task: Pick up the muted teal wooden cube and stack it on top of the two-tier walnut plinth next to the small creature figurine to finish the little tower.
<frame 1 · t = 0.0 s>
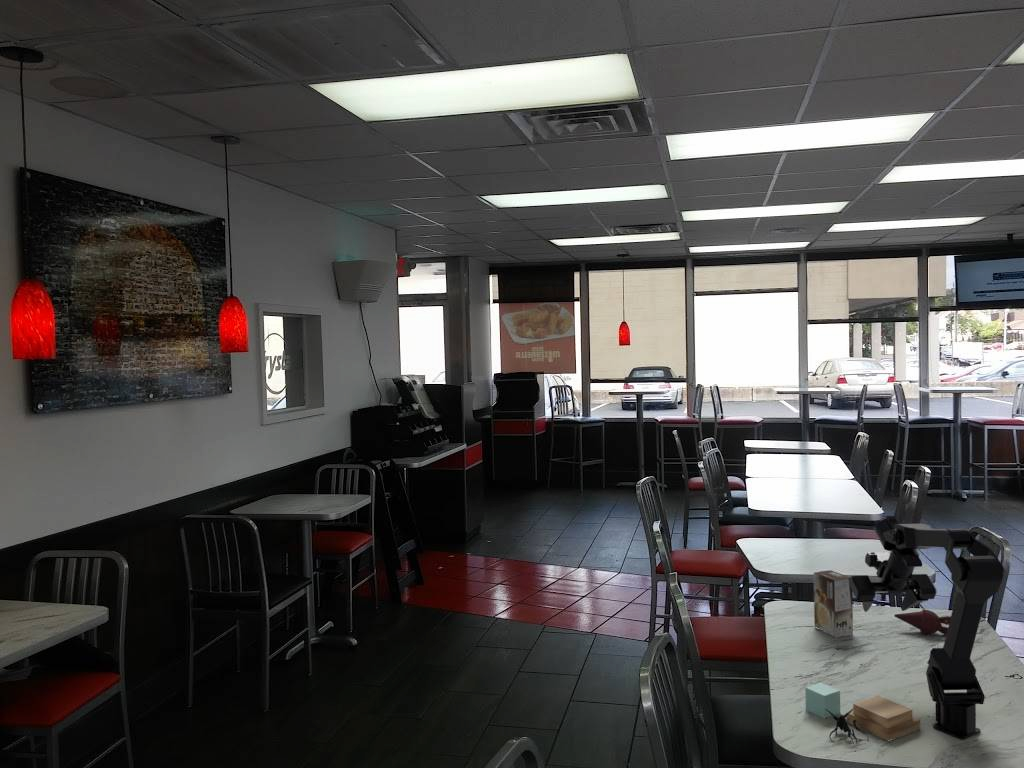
hand: (883, 609, 192), 15 cm above the table, tool tilted 35°, fingers open, 9 cm apart
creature: (847, 739, 159), on the table
teal block: (822, 711, 171), on the table
plinth: (882, 725, 164), on the table
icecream: (924, 633, 217), on the table
coffee box: (833, 632, 220), on the table
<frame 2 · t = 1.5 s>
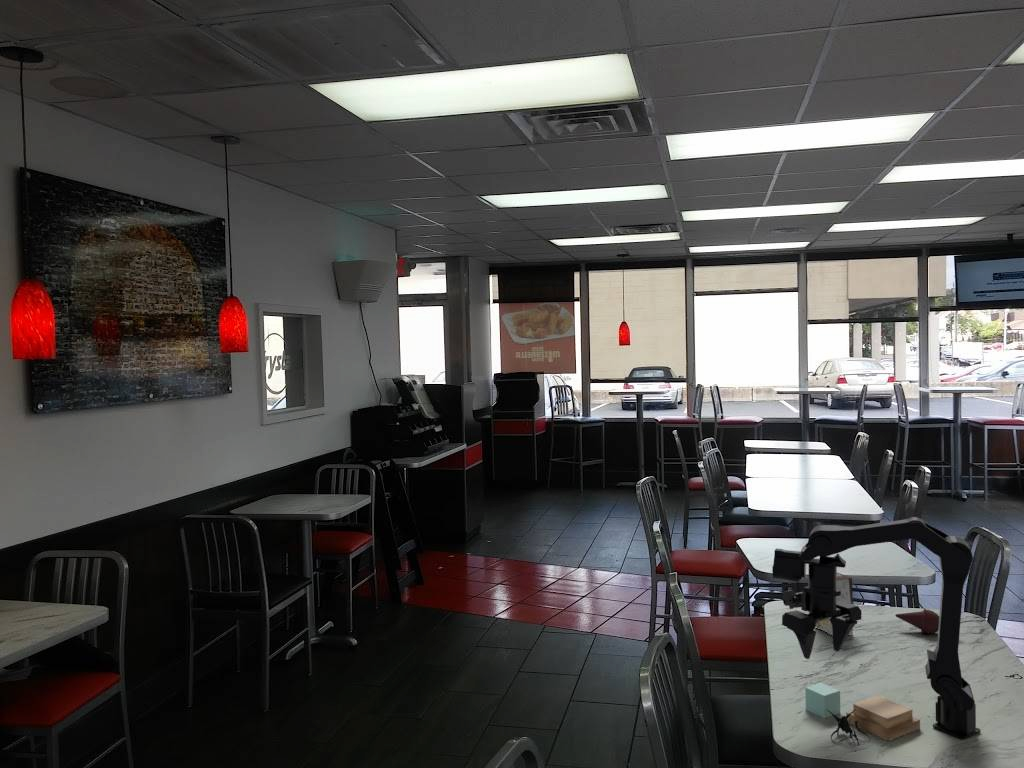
hand: (821, 654, 172), 12 cm above the table, tool pointing down, fingers open, 9 cm apart
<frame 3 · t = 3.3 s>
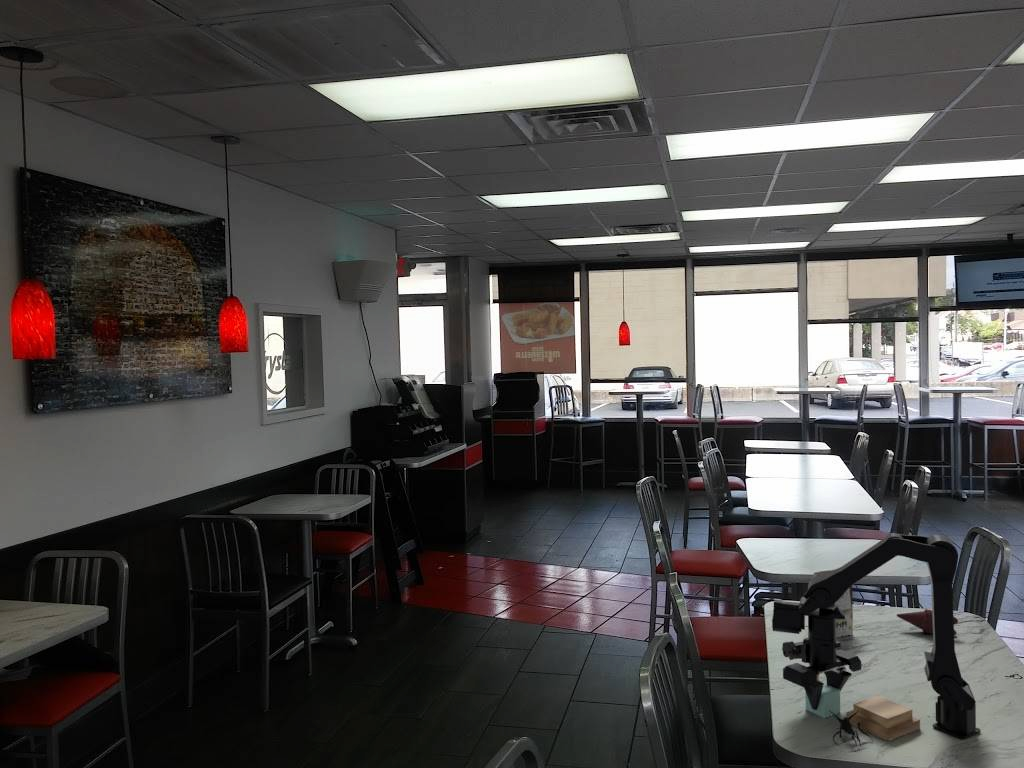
hand: (822, 706, 171), 1 cm above the table, tool pointing down, fingers closed on teal block, 5 cm apart
teal block: (822, 711, 171), on the table, touching gripper
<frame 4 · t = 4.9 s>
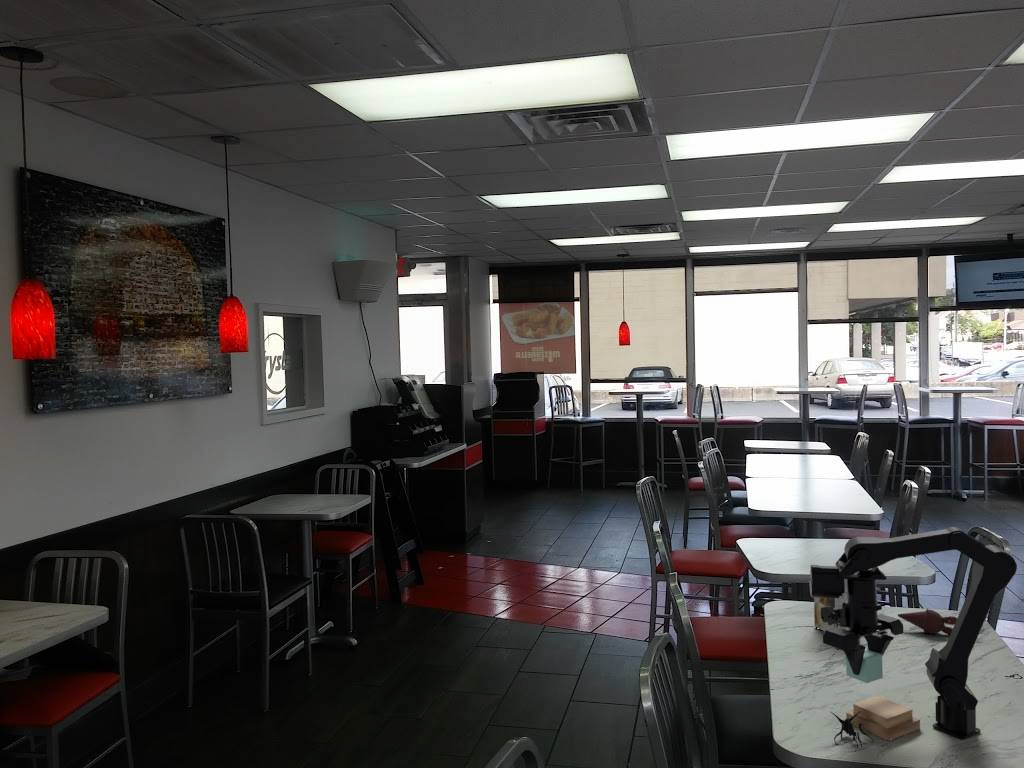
hand: (864, 671, 166), 11 cm above the table, tool pointing down, fingers closed on teal block, 5 cm apart
teal block: (864, 676, 166), point 10 cm above the table, touching gripper
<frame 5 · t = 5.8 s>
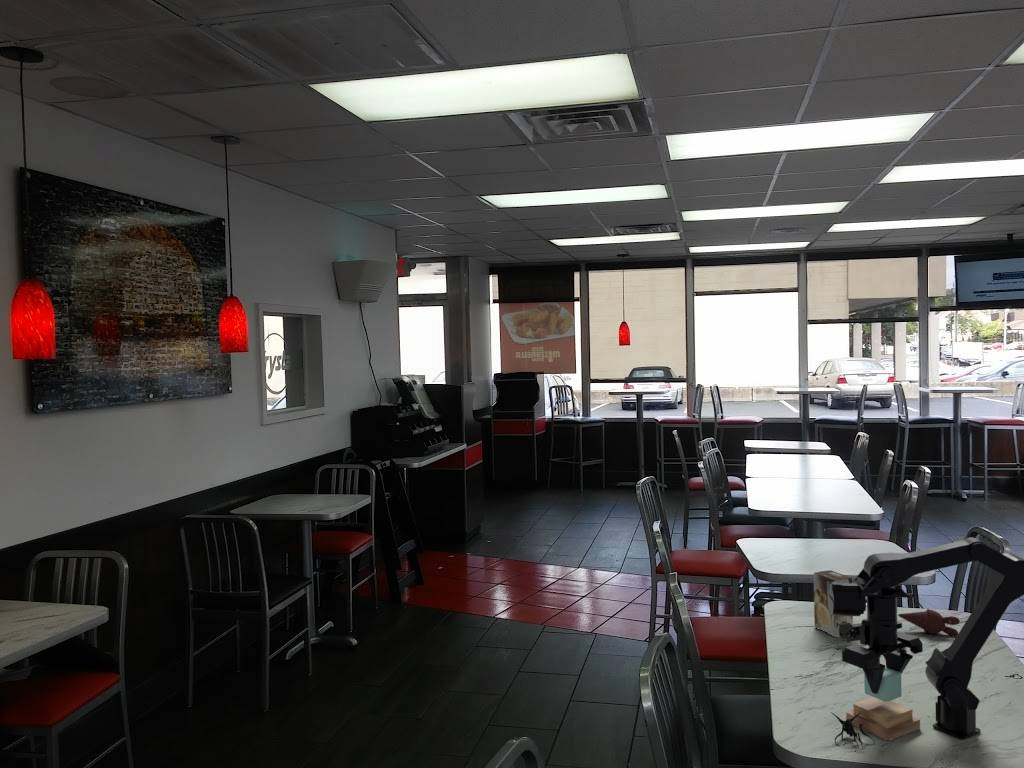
hand: (882, 690, 164), 8 cm above the table, tool pointing down, fingers closed on teal block, 5 cm apart
teal block: (882, 694, 164), point 6 cm above the table, touching gripper
when the fingers open (6 cm above the table, at t = 6.4 s): teal block drops 1 cm, resting on plinth.
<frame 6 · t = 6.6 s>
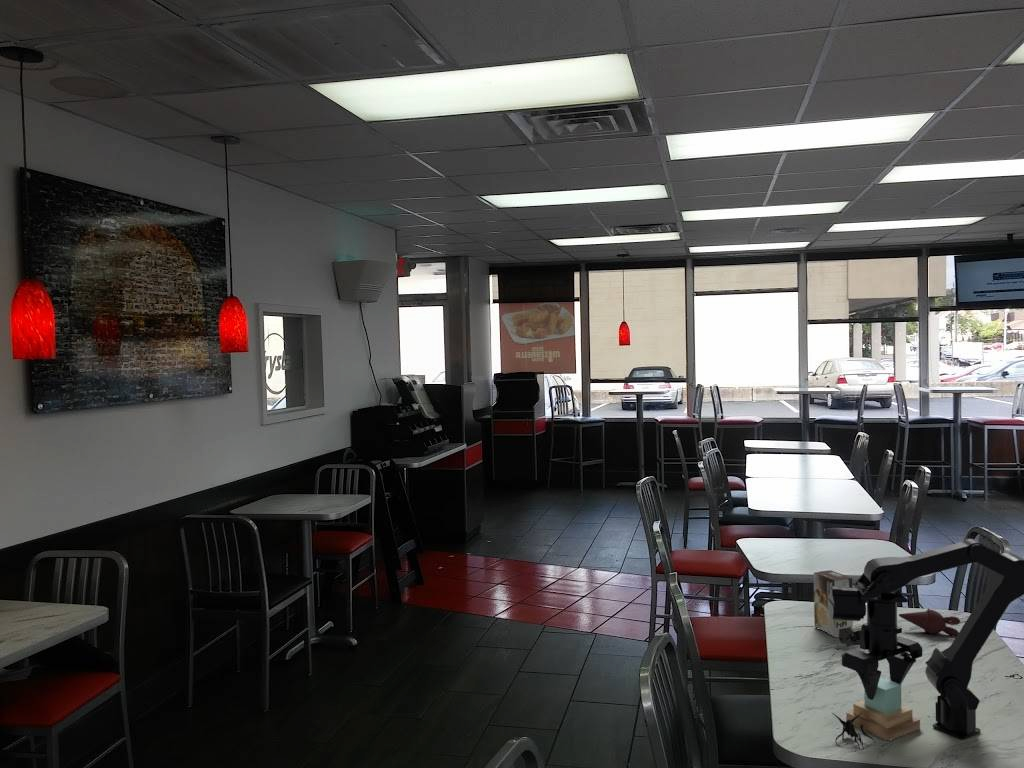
hand: (882, 694, 164), 6 cm above the table, tool pointing down, fingers open, 7 cm apart
teal block: (882, 706, 164), point 4 cm above the table, touching plinth
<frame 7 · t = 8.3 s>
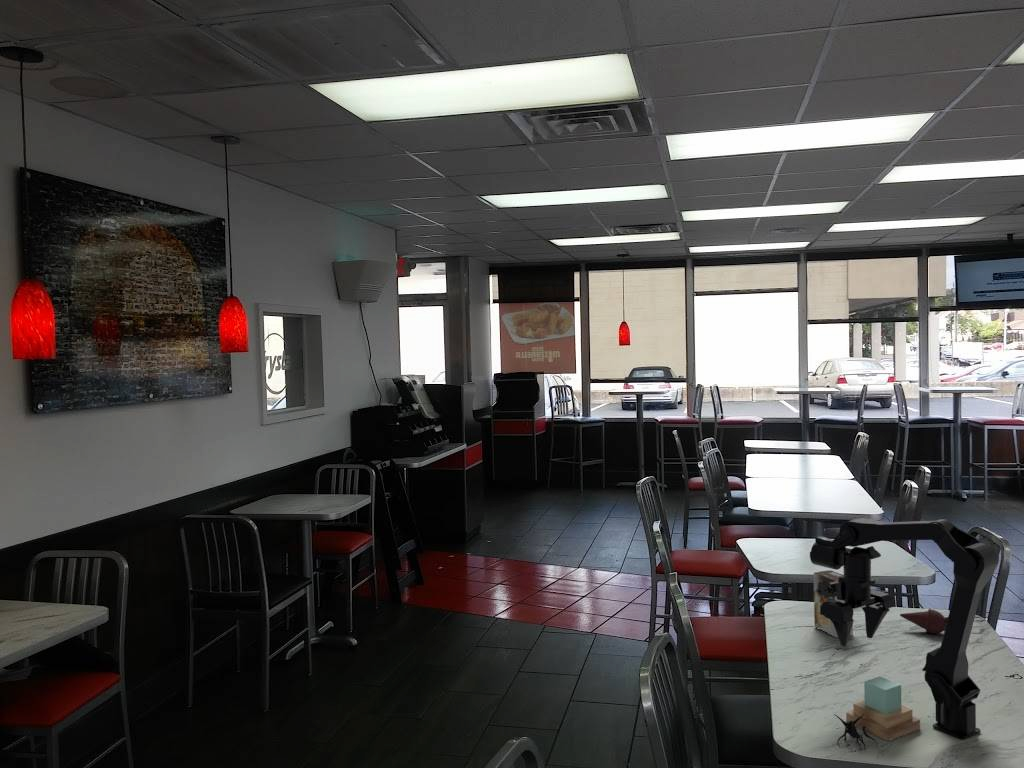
hand: (856, 641, 178), 12 cm above the table, tool pointing down, fingers open, 9 cm apart
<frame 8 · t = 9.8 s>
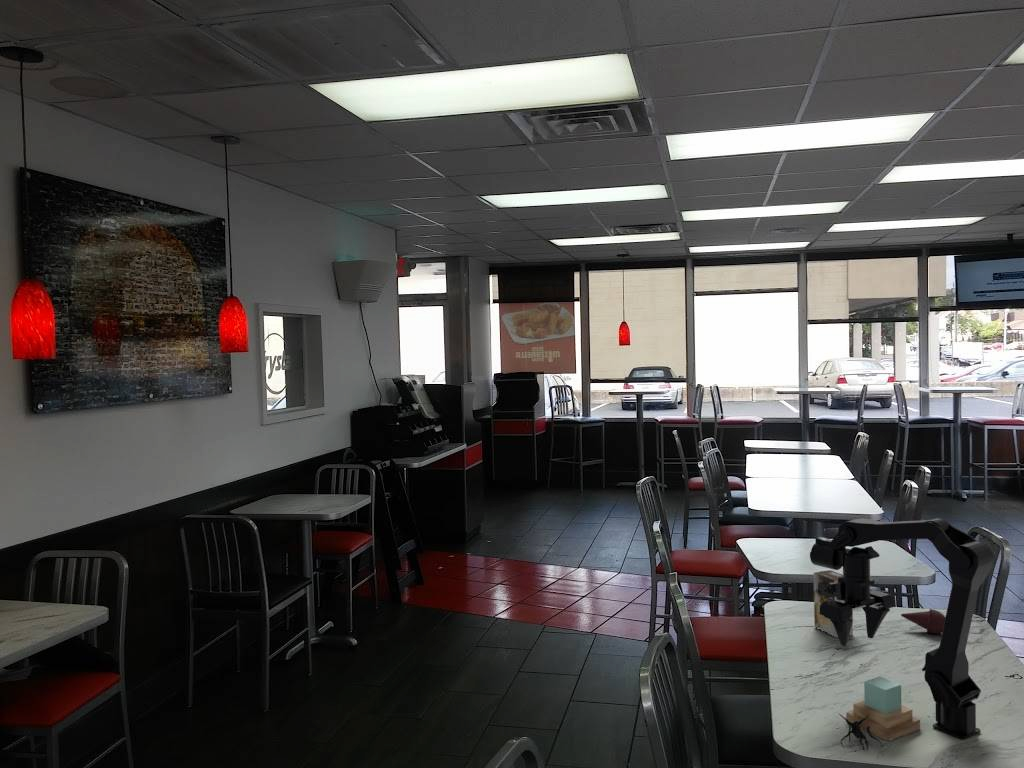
hand: (857, 641, 179), 12 cm above the table, tool pointing down, fingers open, 9 cm apart
at the end: teal block inside the target area on the plinth (0.1 cm from its centre), point 4.0 cm above the plinth's base; teal block tilted 0°; the gripper is holding nothing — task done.
